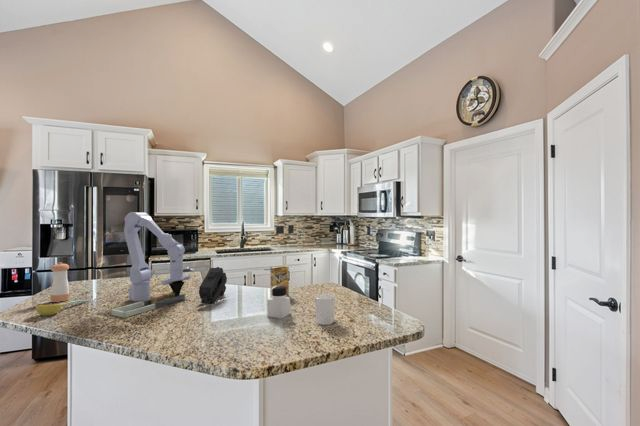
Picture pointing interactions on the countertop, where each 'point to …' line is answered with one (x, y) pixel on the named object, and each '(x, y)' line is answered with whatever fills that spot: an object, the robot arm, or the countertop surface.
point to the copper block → (156, 298)
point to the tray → (123, 314)
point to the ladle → (51, 308)
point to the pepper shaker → (60, 283)
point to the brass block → (168, 294)
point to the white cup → (324, 308)
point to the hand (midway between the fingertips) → (176, 296)
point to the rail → (165, 301)
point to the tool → (213, 285)
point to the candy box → (280, 277)
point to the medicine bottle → (278, 303)
